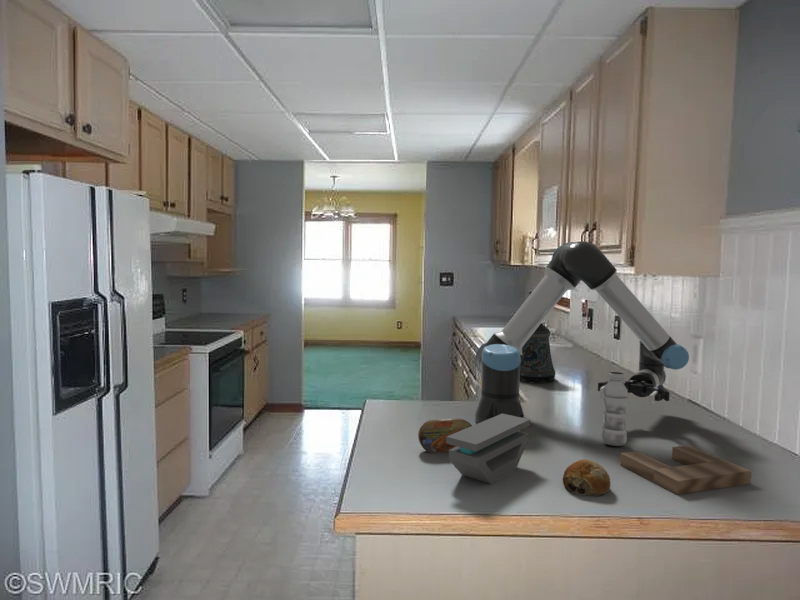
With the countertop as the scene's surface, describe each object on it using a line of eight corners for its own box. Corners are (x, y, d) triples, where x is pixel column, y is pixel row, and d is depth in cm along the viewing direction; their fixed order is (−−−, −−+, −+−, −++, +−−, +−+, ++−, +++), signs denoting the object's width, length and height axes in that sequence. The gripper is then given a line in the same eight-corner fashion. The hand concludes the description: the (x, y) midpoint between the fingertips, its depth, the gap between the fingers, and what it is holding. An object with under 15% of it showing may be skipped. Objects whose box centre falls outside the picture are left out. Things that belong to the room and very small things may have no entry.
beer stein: (559, 383, 227) (561, 323, 225) (512, 383, 227) (514, 322, 225) (549, 375, 243) (551, 318, 242) (505, 374, 244) (506, 318, 242)
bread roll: (612, 511, 120) (626, 477, 120) (575, 496, 117) (591, 461, 117) (584, 492, 129) (598, 461, 130) (550, 478, 126) (564, 446, 127)
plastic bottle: (627, 450, 148) (630, 376, 146) (600, 447, 150) (603, 374, 149) (626, 442, 154) (629, 371, 152) (600, 439, 156) (603, 369, 155)
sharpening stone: (501, 454, 144) (502, 413, 143) (528, 462, 139) (530, 419, 138) (445, 484, 124) (446, 436, 124) (475, 493, 119) (476, 444, 119)
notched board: (677, 494, 120) (678, 481, 120) (620, 465, 137) (620, 453, 137) (750, 483, 127) (751, 470, 126) (687, 456, 144) (687, 445, 143)
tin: (419, 454, 143) (420, 422, 143) (416, 450, 146) (417, 418, 146) (475, 450, 146) (475, 419, 146) (471, 446, 149) (471, 416, 149)
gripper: (686, 401, 169) (672, 416, 152) (603, 389, 184) (581, 402, 167) (687, 376, 168) (673, 390, 151) (603, 367, 183) (582, 377, 166)
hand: (625, 396), depth 159 cm, fingers open, 13 cm apart
